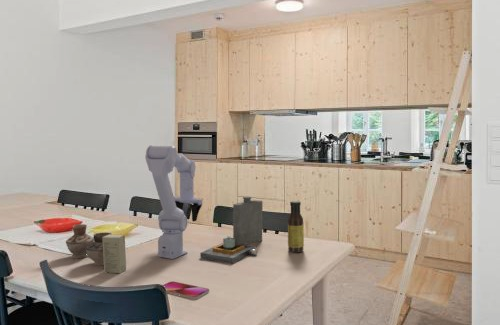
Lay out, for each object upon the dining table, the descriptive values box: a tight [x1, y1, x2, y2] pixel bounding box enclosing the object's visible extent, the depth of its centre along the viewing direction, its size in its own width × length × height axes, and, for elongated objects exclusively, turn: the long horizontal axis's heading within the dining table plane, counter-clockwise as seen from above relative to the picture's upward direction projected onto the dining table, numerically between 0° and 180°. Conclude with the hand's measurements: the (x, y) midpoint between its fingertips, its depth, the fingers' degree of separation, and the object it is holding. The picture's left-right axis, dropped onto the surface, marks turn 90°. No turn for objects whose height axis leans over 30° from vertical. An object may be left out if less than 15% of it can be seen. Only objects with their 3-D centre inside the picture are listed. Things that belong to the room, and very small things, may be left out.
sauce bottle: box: [287, 200, 305, 253], centre depth 161 cm, size 6×6×20 cm
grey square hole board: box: [200, 242, 258, 264], centre depth 156 cm, size 18×17×3 cm
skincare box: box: [102, 233, 127, 274], centre depth 137 cm, size 6×4×12 cm
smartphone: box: [162, 281, 210, 300], centre depth 120 cm, size 7×1×15 cm
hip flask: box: [232, 195, 263, 245], centre depth 174 cm, size 16×4×20 cm, turn 133°
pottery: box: [65, 223, 113, 267], centre depth 149 cm, size 11×25×12 cm, turn 55°
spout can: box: [222, 236, 235, 250], centre depth 157 cm, size 4×4×7 cm
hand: (187, 220), depth 171 cm, fingers open, 7 cm apart
